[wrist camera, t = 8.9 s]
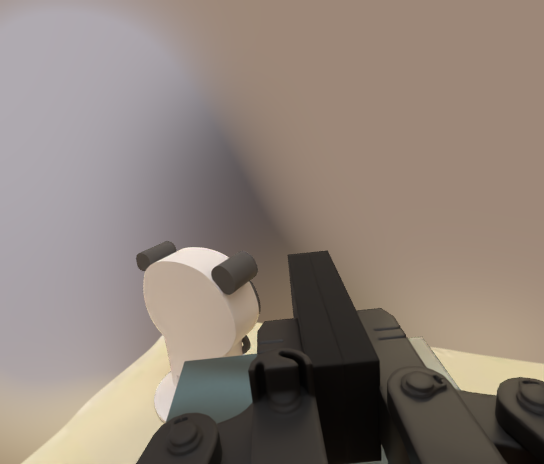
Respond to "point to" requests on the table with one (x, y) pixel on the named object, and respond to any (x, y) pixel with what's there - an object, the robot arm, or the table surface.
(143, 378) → the table surface
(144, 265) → the panda figurine
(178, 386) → the lid
